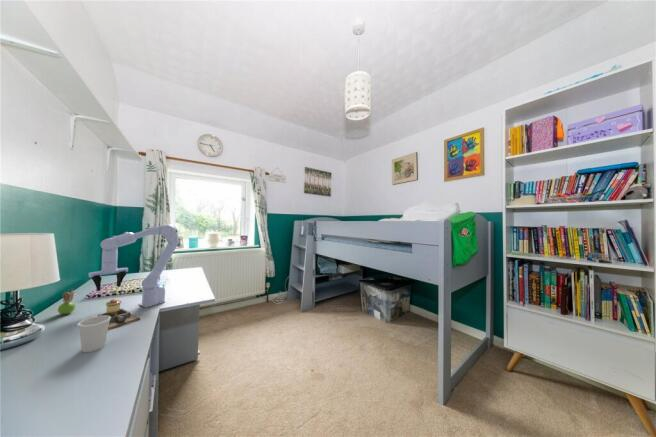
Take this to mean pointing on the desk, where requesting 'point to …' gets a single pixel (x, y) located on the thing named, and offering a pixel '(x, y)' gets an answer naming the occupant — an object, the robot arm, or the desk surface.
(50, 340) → the desk surface
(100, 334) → the dixie cup
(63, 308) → the snail figurine
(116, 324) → the board
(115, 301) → the cylinder
